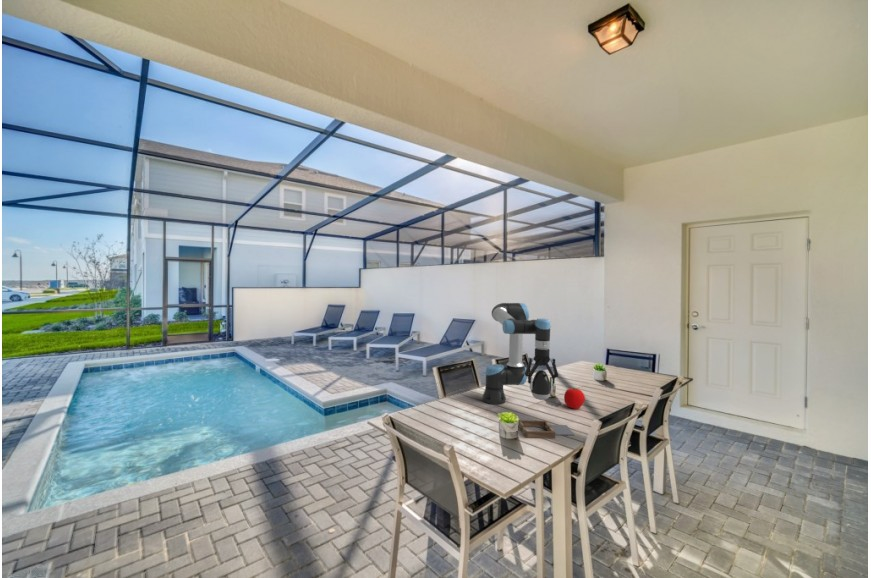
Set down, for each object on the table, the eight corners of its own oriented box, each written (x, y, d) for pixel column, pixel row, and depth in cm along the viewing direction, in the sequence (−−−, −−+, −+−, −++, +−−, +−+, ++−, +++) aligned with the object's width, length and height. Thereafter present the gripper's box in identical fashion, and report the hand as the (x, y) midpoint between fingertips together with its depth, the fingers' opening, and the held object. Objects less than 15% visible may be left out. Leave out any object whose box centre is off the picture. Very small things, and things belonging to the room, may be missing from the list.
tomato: (563, 409, 235) (564, 389, 234) (563, 403, 246) (564, 384, 245) (585, 412, 231) (585, 391, 230) (584, 405, 242) (584, 386, 241)
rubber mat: (546, 425, 209) (546, 424, 209) (566, 426, 209) (566, 425, 209) (553, 435, 197) (553, 434, 197) (574, 435, 197) (574, 434, 197)
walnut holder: (518, 425, 209) (518, 420, 209) (546, 425, 209) (546, 420, 209) (525, 437, 193) (525, 432, 193) (555, 438, 193) (555, 432, 193)
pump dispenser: (537, 402, 194) (538, 373, 194) (527, 395, 204) (528, 368, 204) (554, 401, 197) (555, 372, 196) (544, 394, 207) (545, 367, 206)
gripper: (522, 349, 196) (521, 391, 197) (565, 350, 195) (564, 392, 196) (519, 346, 203) (518, 387, 204) (561, 347, 203) (560, 387, 204)
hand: (540, 389), depth 200 cm, fingers closed on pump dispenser, 10 cm apart
